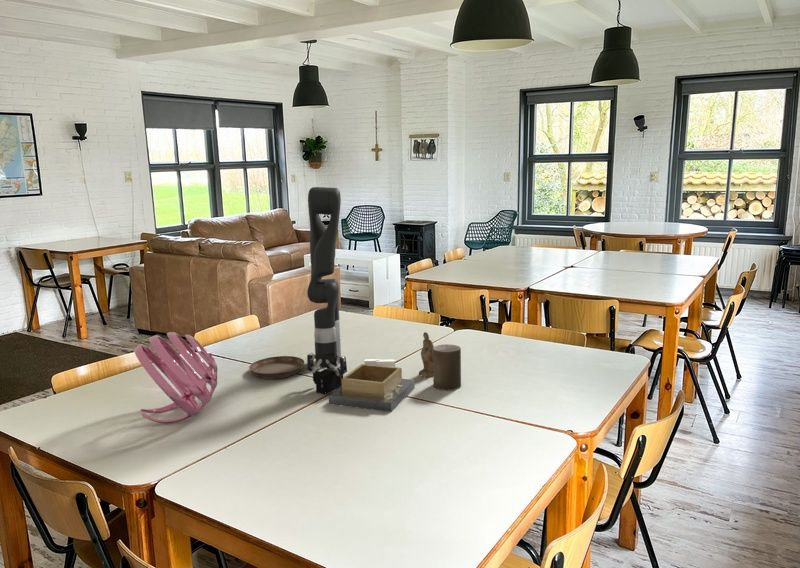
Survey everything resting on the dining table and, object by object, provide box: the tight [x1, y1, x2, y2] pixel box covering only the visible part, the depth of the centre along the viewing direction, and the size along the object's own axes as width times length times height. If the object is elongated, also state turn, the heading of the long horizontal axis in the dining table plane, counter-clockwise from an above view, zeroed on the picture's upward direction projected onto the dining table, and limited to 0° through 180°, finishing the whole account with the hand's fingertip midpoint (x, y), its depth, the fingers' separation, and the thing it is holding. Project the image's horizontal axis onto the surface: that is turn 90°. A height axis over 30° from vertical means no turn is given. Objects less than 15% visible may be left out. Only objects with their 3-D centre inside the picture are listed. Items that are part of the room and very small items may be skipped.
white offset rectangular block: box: [363, 358, 396, 367], centre depth 236 cm, size 15×11×6 cm
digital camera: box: [312, 365, 344, 396], centre depth 220 cm, size 10×5×7 cm, turn 150°
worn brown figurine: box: [418, 331, 435, 378], centre depth 233 cm, size 12×6×18 cm, turn 131°
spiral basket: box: [133, 331, 218, 424], centre depth 198 cm, size 28×28×27 cm
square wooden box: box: [327, 363, 416, 413], centre depth 212 cm, size 22×22×8 cm
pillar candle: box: [432, 343, 462, 391], centre depth 219 cm, size 10×10×15 cm
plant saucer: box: [248, 355, 305, 380], centre depth 240 cm, size 21×21×3 cm
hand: (327, 383), depth 220 cm, fingers open, 8 cm apart
